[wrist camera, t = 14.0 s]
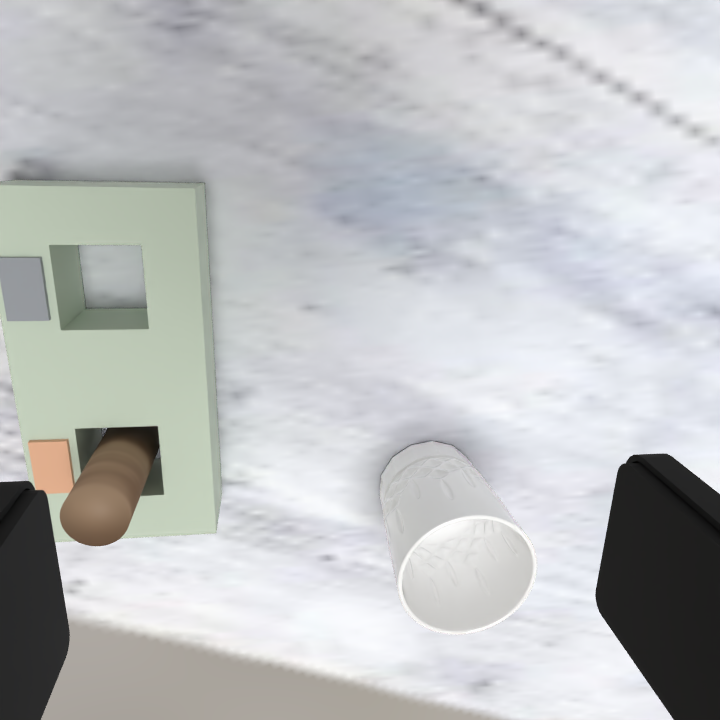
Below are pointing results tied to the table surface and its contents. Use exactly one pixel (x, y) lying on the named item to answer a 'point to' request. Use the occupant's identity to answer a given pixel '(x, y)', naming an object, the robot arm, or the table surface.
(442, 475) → the white cup
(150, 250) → the socket block
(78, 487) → the dowel
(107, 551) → the table surface
